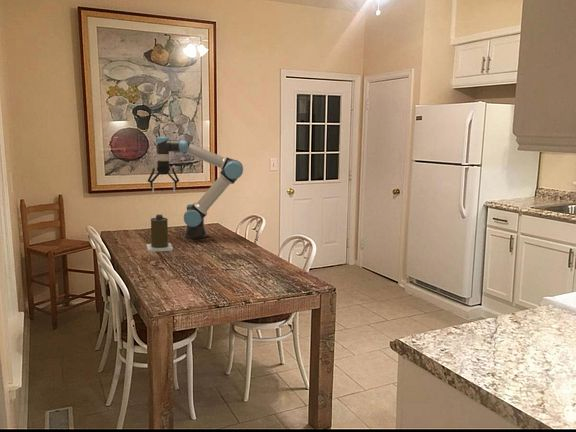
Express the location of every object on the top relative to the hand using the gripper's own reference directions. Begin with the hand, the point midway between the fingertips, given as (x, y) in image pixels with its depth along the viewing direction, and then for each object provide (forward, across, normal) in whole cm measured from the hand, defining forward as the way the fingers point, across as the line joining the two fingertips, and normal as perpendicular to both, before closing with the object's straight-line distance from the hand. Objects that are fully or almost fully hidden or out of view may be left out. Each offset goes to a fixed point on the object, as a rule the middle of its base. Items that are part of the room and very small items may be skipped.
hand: (163, 192), depth 324 cm
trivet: (+33, +5, +22) cm, 40 cm away
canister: (+31, +5, +22) cm, 38 cm away
